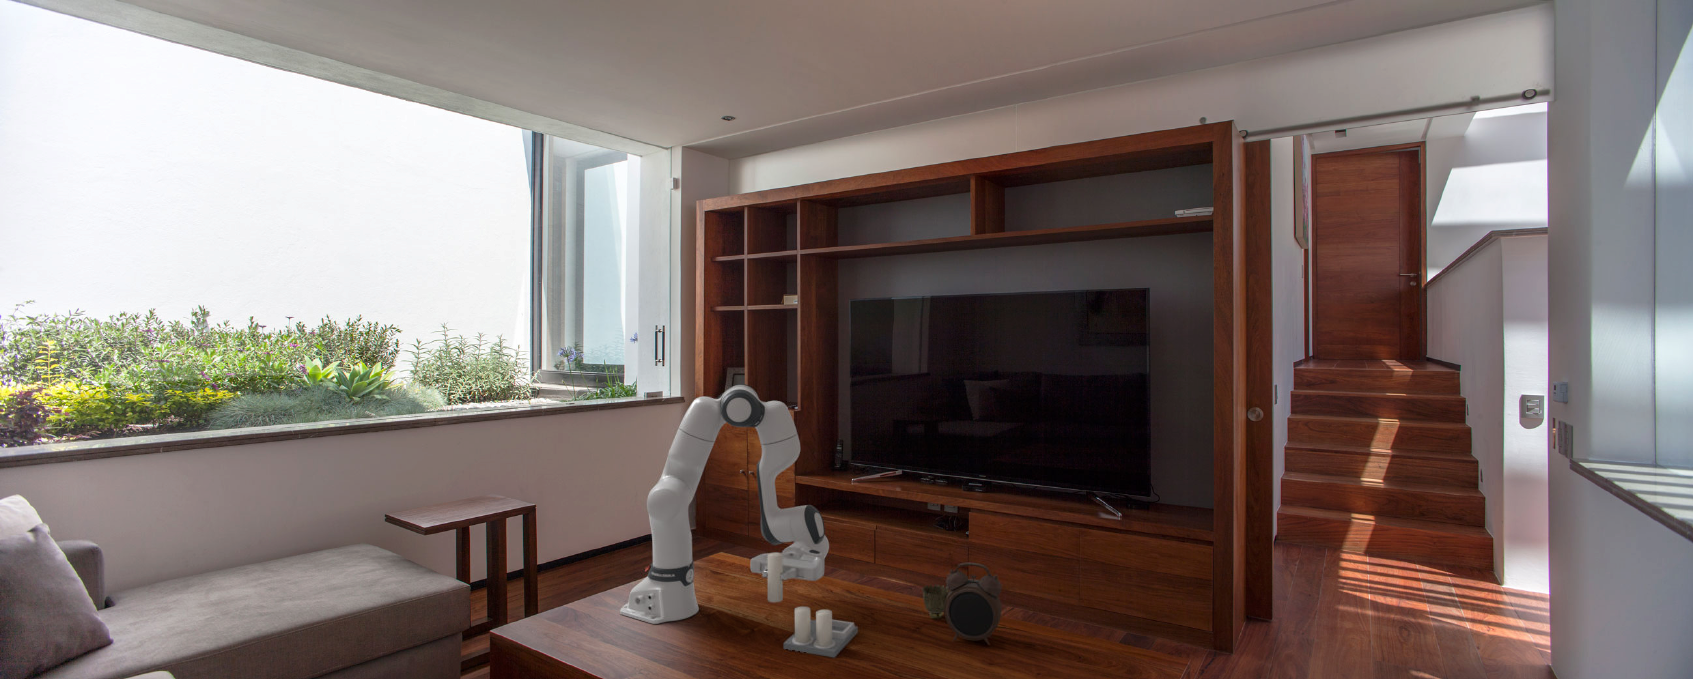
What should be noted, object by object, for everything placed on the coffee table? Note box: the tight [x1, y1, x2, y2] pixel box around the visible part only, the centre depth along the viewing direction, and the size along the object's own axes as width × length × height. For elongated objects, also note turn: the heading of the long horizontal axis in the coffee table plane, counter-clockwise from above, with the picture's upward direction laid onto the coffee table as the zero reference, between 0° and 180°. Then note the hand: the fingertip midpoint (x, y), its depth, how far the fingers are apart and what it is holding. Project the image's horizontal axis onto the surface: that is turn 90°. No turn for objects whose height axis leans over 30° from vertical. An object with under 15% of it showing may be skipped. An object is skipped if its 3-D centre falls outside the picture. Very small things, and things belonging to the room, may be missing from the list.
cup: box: [922, 584, 950, 620], centre depth 203 cm, size 8×7×8 cm
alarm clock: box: [943, 562, 1003, 645], centre depth 187 cm, size 15×7×20 cm, turn 71°
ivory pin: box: [767, 552, 784, 603], centre depth 194 cm, size 4×4×12 cm
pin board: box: [783, 606, 859, 658], centre depth 189 cm, size 14×16×10 cm
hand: (773, 575), depth 193 cm, fingers closed on ivory pin, 4 cm apart
